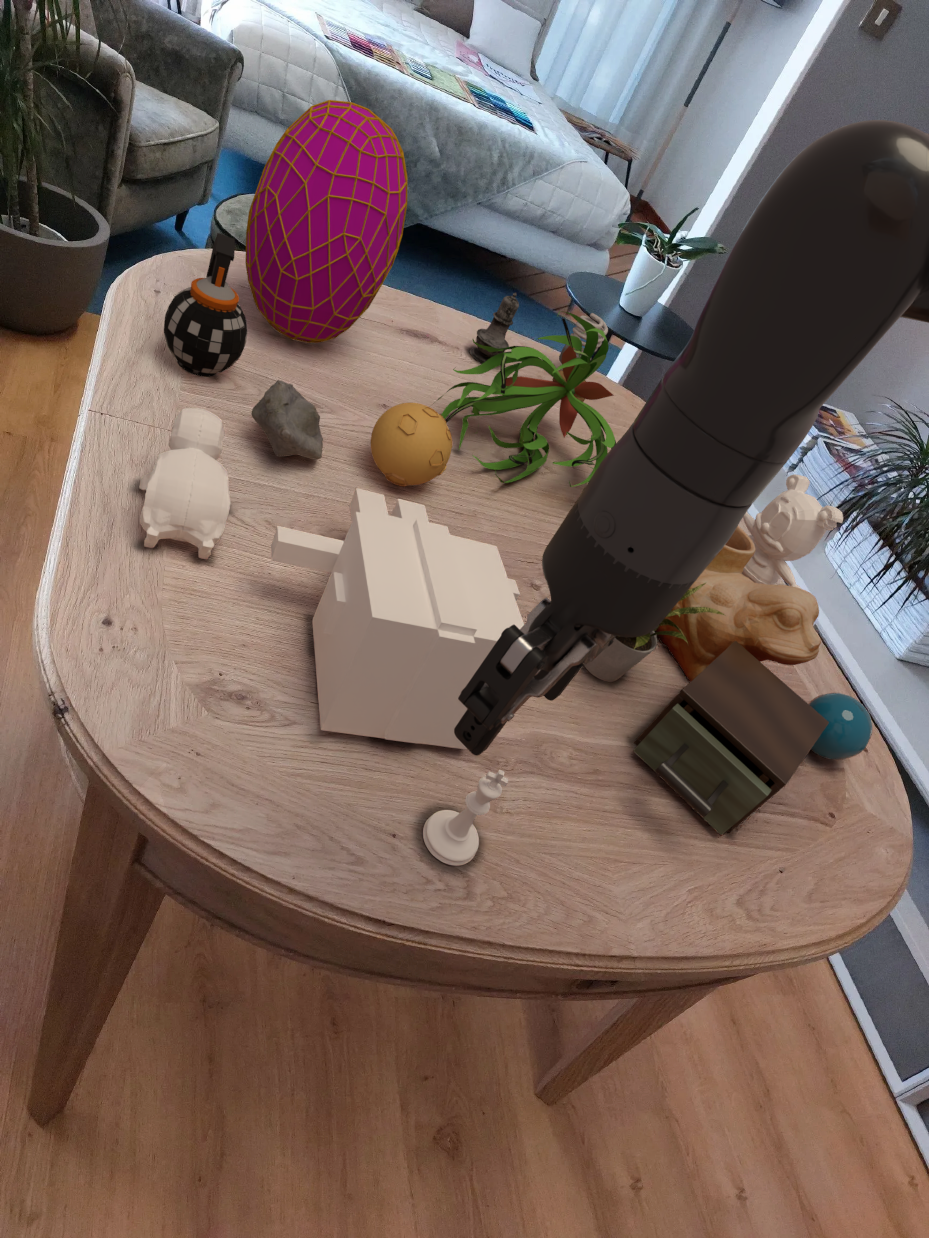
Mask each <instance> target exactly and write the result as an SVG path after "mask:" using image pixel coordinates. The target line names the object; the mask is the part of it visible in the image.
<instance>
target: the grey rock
mask: <svg viewBox="0 0 929 1238" xmlns="http://www.w3.org/2000/svg"><path fill="white" fill-rule="evenodd" d="M250 414H251V417H252V418H253V419H254V421H255V422H256V424H257V425H258V426H259V427H260V428H261V430H262V431H263V433H264V434H265V435H266V437H267V439H268V441H269V444H270V446H271V447H272V451H273V452H274V455H275V456H277V457H289V456H297V455H298V456H300V457H303V458H305V459H306V458H307V459H312V460H320V459H322V456H323V450H324V449H323V448H324V442H323V441H324V438H323V436H322V432H321V426H320V420H321V415H320V414H319V413H318V411H317V408H316V406H315V404H313V403H312V402H311V401H308V400H307V399H306V398H305V397H304V396H303V395H302V394H301V393H300V392H299V391H298V390H297V389H296V388H295V386H294V385H293V384H292V383H288V382H285V381H284V380H280V379H277V380H276V381H275V382H274V384H272V385H270V386H269V388H268V389H267V390H266V391H265V392H264V394H263V396H262V397H261V398H260V399H259V401H258V402H257V403H256V404H255V405H254V406H253V408H252V409H251V413H250Z"/></svg>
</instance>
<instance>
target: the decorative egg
mask: <svg viewBox="0 0 929 1238" xmlns="http://www.w3.org/2000/svg"><path fill="white" fill-rule="evenodd" d="M407 208H408V172H407V165H406V159H405V153H404V150H403V148H402V146H401V144H400V142H399V139H398V137H397V136H396V134H395V132H394V130H393V129H392V128H391V127H390V125H388V124H387V123H386V121H384V120H383V119H382V118H381V117H379V116H378V115H377V114H375V113H374V112H373V111H372V110H371V109H369V108H368V107H365V106H363V105H361V104H357V103H355V102H352V101H344V100H334V99H328V100H324V101H322V102H318V103H316V104H313V105H311V106H309V107H308V109H307V110H306V111H304V112H303V113H301V115H300V116H299V117H298V118H297V119H295V121H293V122H292V124H290V125H289V126H288V127H287V128H286V130H285V131H284V133H283V134H282V135H281V137H280V138H279V139H278V141H277V142H276V143H275V146H274V147H273V149H272V151H271V154H270V155H269V157H268V159H267V161H266V162H265V165H264V167H263V169H262V172H261V176H260V178H259V182H258V184H257V187H256V189H255V192H254V196H253V198H252V201H251V204H250V207H249V210H248V215H247V223H246V231H245V263H244V264H245V269H246V277H247V283H248V286H249V289H250V292H251V295H252V299H253V302H254V304H255V307H256V309H257V310H258V312H259V313H260V314H261V315H262V317H263V318H264V319H265V320H266V321H267V322H268V324H269V325H270V326H271V328H273V330H274V331H276V332H277V333H280V334H281V335H283V336H284V337H286V338H289V339H290V340H293V341H298V342H302V343H306V344H318V343H324V342H328V341H330V340H331V341H332V340H335V339H336V338H338V337H339V336H341V335H342V334H344V333H345V332H346V331H348V330H349V329H350V328H351V327H352V326H353V325H354V324H355V323H356V322H357V321H358V320H359V319H360V318H361V317H362V316H363V314H364V313H365V312H366V311H368V309H369V308H370V306H371V304H372V303H373V301H374V299H375V298H376V296H377V294H378V293H379V291H380V290H381V288H382V286H383V284H384V282H385V280H386V279H387V277H388V275H389V273H390V272H391V270H392V267H393V265H394V263H395V260H396V257H397V254H398V252H399V250H400V245H401V242H402V238H403V235H404V226H405V220H406V215H407Z"/></svg>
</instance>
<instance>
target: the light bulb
mask: <svg viewBox="0 0 929 1238" xmlns="http://www.w3.org/2000/svg"><path fill="white" fill-rule="evenodd" d="M579 317H580V318H582V319H583V320H585V321H587V322H589V323H591V324H592V325H593V326H594V327H595V328H597V329H600V330H602V331H603V332H604V333H605V336H607V334H608V333H609V328H608V325H607V323H606V322H605V321H604V320H603V318H601V316H598V315H597V314H596V313H593V312H591V313H590V314H589V316H586V315H581V316H579ZM584 332H585V333H584ZM581 333H582V334H581ZM570 335H571V336H576V337H578V338H579V339H580V340H581V342H582V351H581V352H583V351H584V348H585V344H586V331H585V329H584V328H583V326H582V325H581V324H580V323H579V322H577V321H576V322H575V326H574V327H572V333H570ZM603 341H604V337H602V336H601V335H600V334H599V333H598V343H597V347H596V349H595V351H594V353H596V352H598V350H599V348H600V347H601V345H602V343H603ZM568 347H569V345H566V344H564V346H563V347H562V349H561V351H560V354H559V357H558V361H559V363H560V365H562V362H561V359H562V354H563V352H564V351H565V350H566V349H567V348H568ZM575 350H576V349H575ZM581 355H582V354H581ZM581 355H580V357H581ZM576 357H577V358H579V354H577V353H576ZM590 361H592V358H591V359H590ZM561 370H562V371H563V368H562V369H560V371H561Z"/></svg>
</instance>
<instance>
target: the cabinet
mask: <svg viewBox="0 0 929 1238" xmlns="http://www.w3.org/2000/svg"><path fill="white" fill-rule="evenodd" d="M808 703H809V702H808V701H806V700H804V699H803V698H802V697H801V696H800V695H799V694H797V693H796V692H795V691H794V690H793V689H792V688H790V687H789V686H788V685H787V684H786V683H785V682H784V681H783V680H781V678H779V677H778V676H777V675H776V674H775V673H774V672H773V671H771V670H770V669H769V668H768V667H767V666H766V665H764V663H762V661H761V662H760V661H758V660H757V659H756V658H755V657H754V656H753V655H752V654H750V653H749V652H748V651H747V650H746V649H745V648H744V647H742V646H741V645H740V644H739V643H738V642H737V641H735V642H733V643H732V644H731V645H730V646H729V647H728V648H727V649H726V650H725V651H724V652H723V653H722V654H720V655H719V656H718V657H717V658H716V659H715V660H714V661H713V662H712V663H711V664H710V665H708V666H707V667H706V668H705V669H704V670H703V671H702V672H701V673H700V674H699V675H698V676H697V677H695V678H694V679H693V680H692V681H691V682H690V681H689V683H688V684H687V685H686V686H684V688H682V689H681V690H680V691H679V692H678V694H677V695H676V696H675V697H673V699H672V700H671V701H670V703H668V705H666V706H665V708H664V709H663V710H662V711H661V712H660V713H659V714H658V715H657V716H656V717H655V719H654V720H653V721H651V723H650V724H649V725H648V726H647V727H646V728H645V729H644V730H643V732H641V734H640V735H639V736H638V737H637V738H636V739H635V740H634V741H633V744H635V745H636V747H637V746H638V745H639V744H640V742H641V741H642V740H643V739H644V738H645V737H646V736H647V735H648V734H649V733H650V732H651V731H652V730H653V728H654V727H655V726H656V725H657V724H658V723H659V722H660V721H661V720H662V719H663V718H664V717H665V716H666V714H667V713H668V712H669V711H670V710H671V709H672V708H673V707H674V706H675V705H676V704H679V705H680V706H681V707H682V708H684V707H685V706H686V705H687V704H689V705H690V706H692V707H693V708H694V709H695V710H696V711H697V712H698V713H699V714H700V715H701V716H702V717H704V718H705V719H706V720H707V721H708V722H709V723H710V724H711V725H712V726H713V727H714V728H716V729H717V730H718V731H719V732H720V733H721V734H722V735H723V736H724V737H725V738H726V739H727V740H729V741H730V742H731V743H732V744H733V745H734V746H735V747H736V748H737V749H738V750H739V751H741V752H742V753H743V754H744V755H745V756H746V757H747V758H748V759H749V760H750V761H751V762H753V763H754V764H755V765H756V766H757V767H758V768H759V769H760V770H761V771H762V772H763V773H764V774H766V775H767V776H768V777H769V778H770V779H769V780H768V781H767V782H766V783H765V784H766V785H767V786H768V787H769V788H770V789H771V792H770V793H769V795H768V796H767V797H766V798H765V799H764V800H762V801H761V802H760V803H759V804H758V805H757V806H755V807H754V808H753V809H752V810H751V811H749V812H748V813H747V814H746V815H745V816H744V817H742V818H741V819H740V820H739V821H738V822H737V823H735V824H734V825H733V826H732V827H731V828H730V829H728V830H727V831H726V832H727V834H730V833H731V832H733V830H735V829H736V828H737V827H738V826H739V825H741V824H742V823H743V822H744V821H745V820H747V819H748V818H749V817H750V816H751V815H752V814H754V813H755V812H756V811H757V810H758V809H760V808H761V807H762V806H763V805H764V804H766V803H767V802H768V801H769V800H770V799H772V797H774V796H775V795H776V794H778V793H779V792H780V791H781V790H782V789H783V788H784V787H785V786H786V785H787V784H788V783H789V781H790V780H791V778H792V777H793V775H794V774H795V773H796V771H797V770H798V768H799V767H800V766H801V764H802V763H803V761H804V760H805V759H806V757H807V755H808V754H809V753H810V751H812V750H811V748H812V747H813V745H814V744H815V742H816V741H817V739H818V738H819V737H820V735H821V734H822V732H823V731H824V729H825V728H826V726H827V725H828V724H829V722H828V721H827V720H826V719H825V718H824V717H823V716H821V715H820V714H819V713H818V712H817V711H816V710H815V709H813V708H812V707H811V706H810V705H809V704H808Z"/></svg>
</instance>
